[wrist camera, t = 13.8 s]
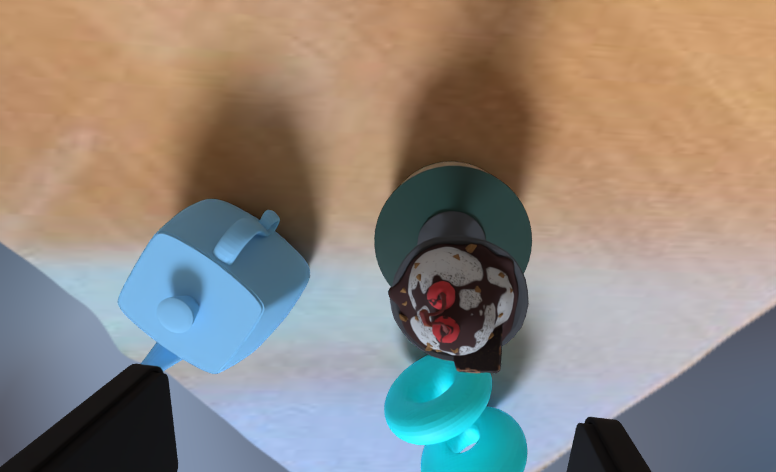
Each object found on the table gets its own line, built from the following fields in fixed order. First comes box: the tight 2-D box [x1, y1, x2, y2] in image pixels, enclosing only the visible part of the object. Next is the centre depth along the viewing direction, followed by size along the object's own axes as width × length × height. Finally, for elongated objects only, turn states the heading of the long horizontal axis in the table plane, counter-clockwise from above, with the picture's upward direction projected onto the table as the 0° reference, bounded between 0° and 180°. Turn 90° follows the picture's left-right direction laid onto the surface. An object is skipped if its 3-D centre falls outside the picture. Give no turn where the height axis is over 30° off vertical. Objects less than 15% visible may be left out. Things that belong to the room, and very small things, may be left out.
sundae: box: [388, 211, 529, 373], centre depth 22 cm, size 7×7×15 cm
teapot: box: [118, 199, 310, 374], centre depth 34 cm, size 12×18×12 cm
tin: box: [375, 161, 532, 286], centre depth 32 cm, size 11×11×7 cm
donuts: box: [384, 355, 527, 472], centre depth 35 cm, size 10×10×10 cm
